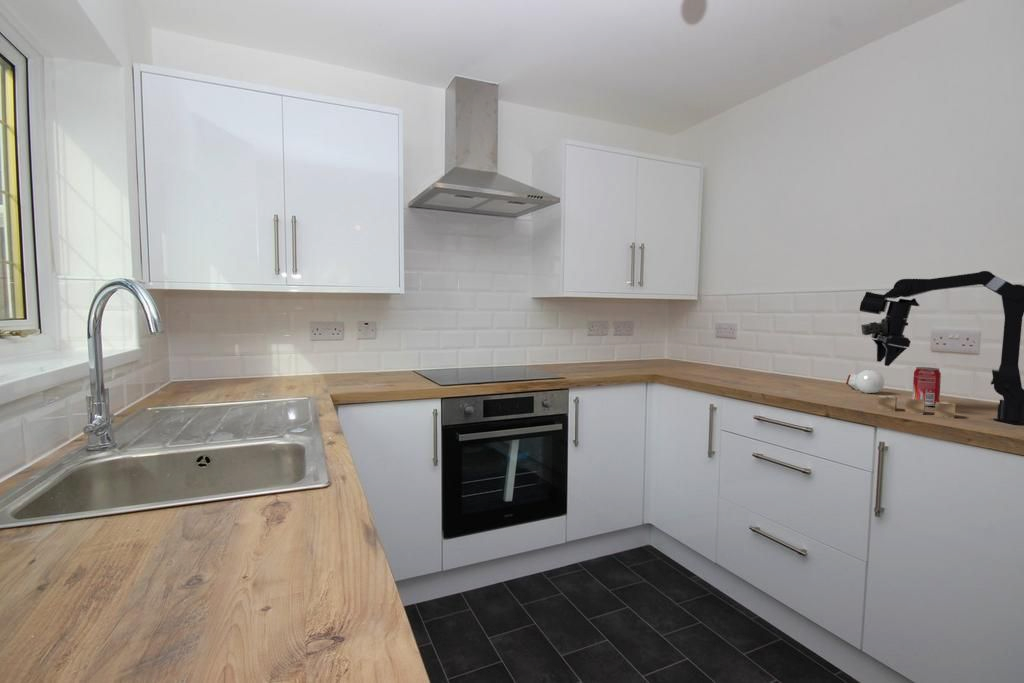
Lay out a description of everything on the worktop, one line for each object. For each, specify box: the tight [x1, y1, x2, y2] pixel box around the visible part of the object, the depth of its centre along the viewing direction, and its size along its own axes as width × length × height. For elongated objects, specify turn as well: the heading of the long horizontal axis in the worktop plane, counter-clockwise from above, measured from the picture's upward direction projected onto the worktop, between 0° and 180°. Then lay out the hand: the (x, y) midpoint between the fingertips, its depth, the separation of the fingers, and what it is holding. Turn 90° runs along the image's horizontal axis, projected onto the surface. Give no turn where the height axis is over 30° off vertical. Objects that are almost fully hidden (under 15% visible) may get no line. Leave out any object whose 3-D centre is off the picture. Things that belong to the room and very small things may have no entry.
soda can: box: [911, 366, 942, 406], centre depth 169 cm, size 7×7×13 cm
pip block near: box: [934, 401, 956, 419], centre depth 152 cm, size 4×4×4 cm
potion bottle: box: [845, 369, 885, 394], centre depth 198 cm, size 9×10×15 cm
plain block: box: [904, 398, 926, 414], centre depth 156 cm, size 4×4×4 cm
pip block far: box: [877, 395, 898, 411], centre depth 161 cm, size 4×4×4 cm
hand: (882, 363), depth 165 cm, fingers open, 9 cm apart
